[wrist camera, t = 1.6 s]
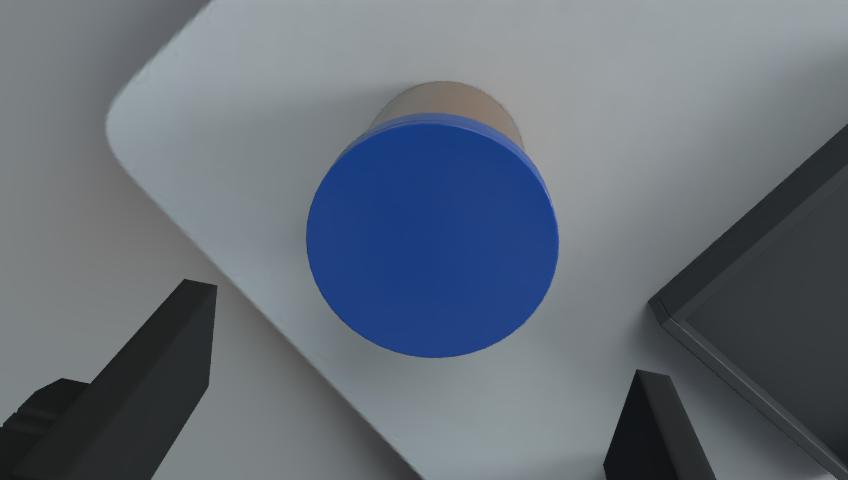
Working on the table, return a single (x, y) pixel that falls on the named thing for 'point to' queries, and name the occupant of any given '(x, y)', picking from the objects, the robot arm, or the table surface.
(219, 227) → the table surface
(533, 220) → the lid
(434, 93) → the jar
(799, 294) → the tray
